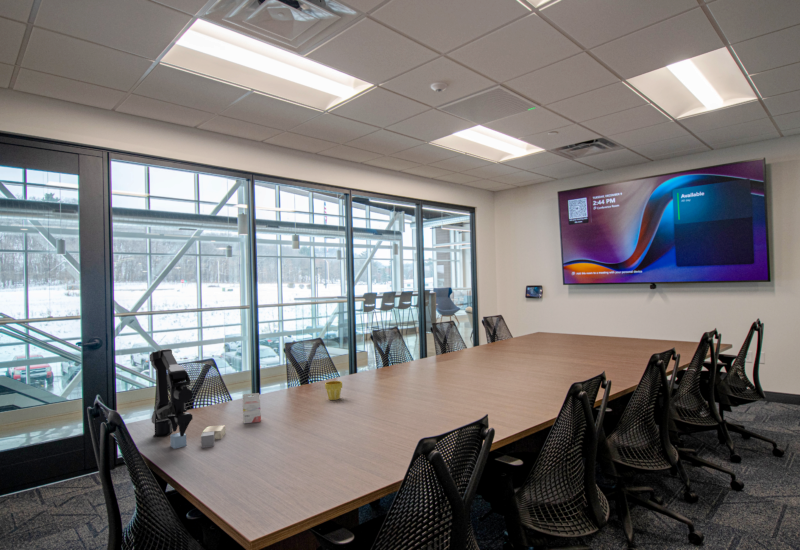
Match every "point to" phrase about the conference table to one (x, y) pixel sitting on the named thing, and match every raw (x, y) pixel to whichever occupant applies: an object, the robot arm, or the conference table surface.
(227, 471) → the conference table surface
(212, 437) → the grey cube
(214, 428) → the maple block
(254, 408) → the ink cartridge box
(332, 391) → the plant pot
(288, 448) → the conference table surface
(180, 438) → the blue cube
